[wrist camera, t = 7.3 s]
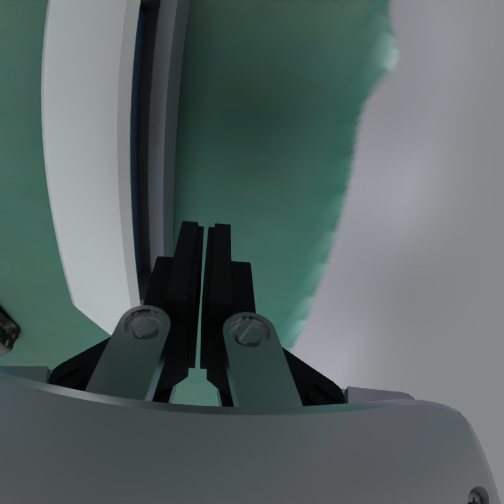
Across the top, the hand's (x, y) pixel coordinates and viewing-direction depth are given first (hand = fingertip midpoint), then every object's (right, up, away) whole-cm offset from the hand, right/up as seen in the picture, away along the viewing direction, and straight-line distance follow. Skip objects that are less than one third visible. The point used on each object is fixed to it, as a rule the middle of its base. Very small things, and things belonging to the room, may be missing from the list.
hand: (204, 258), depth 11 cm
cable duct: (-8, +8, +11) cm, 16 cm away
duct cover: (-8, +5, +6) cm, 11 cm away
